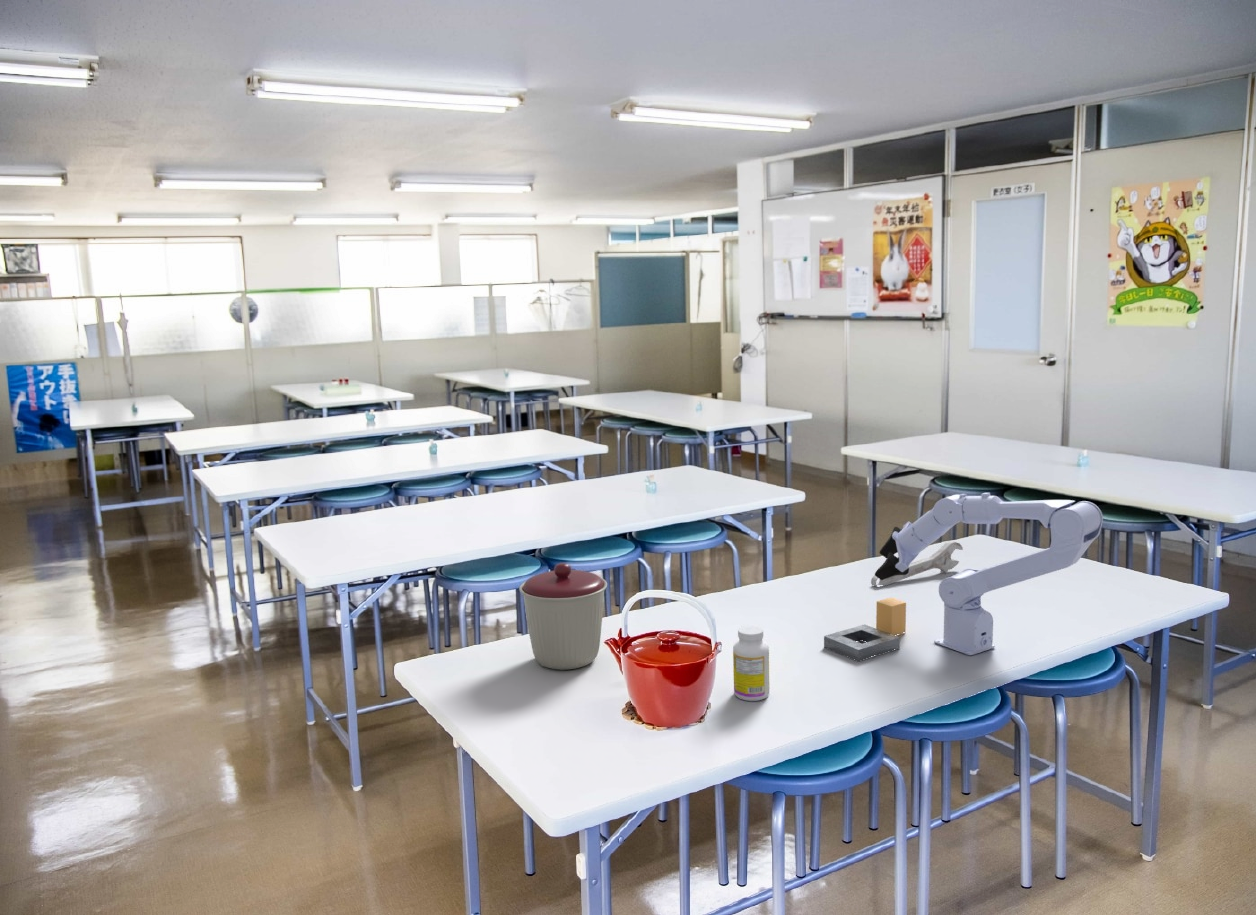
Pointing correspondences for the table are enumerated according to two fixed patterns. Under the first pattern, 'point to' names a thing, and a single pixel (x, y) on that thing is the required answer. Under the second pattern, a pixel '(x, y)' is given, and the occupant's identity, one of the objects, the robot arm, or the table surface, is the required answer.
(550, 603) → the canister
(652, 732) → the table surface
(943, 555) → the wrench
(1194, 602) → the table surface
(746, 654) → the supplement bottle
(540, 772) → the table surface
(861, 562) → the table surface
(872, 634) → the square hole plate
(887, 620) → the square block
